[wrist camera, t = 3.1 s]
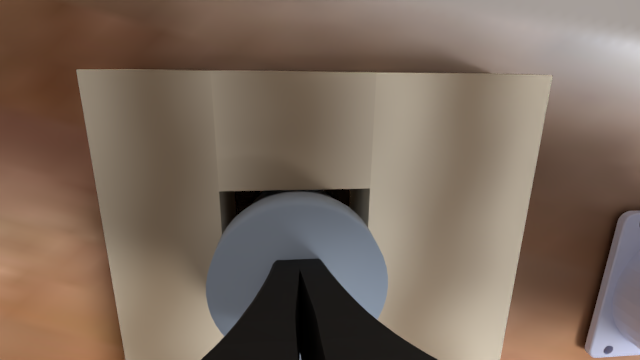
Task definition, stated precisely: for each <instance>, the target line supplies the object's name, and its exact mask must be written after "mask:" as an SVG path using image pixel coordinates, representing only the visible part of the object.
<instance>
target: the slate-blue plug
mask: <svg viewBox="0 0 640 360" xmlns="http://www.w3.org/2000/svg"><path fill="white" fill-rule="evenodd" d="M294 259H320V260H321V261H322V262H323V263H324V264H325V266H326V267H327V268H328V270H329V271H330V272H331V273H332V275H333V276H334V277H335V278H336V279H337V281H338V282H339V283H340V284H341V285H342V286H343V287H344V289H345V290H346V291H347V292H348V293H349V294H350V295H351V296H352V297H353V298H354V299H355V300H356V301H357V302H358V303H359V304H360V305H361V306H362V307H363V308H364V309H365V310H366V311H367V312H368V313H370V314H371V315H372V316H373V317H374V318H376V319H378V318H379V316H380V314H381V311H382V309H383V307H384V304H385V300H386V297H387V290H388V274H387V267H386V264H385V260H384V257H383V255H382V253H381V251H380V248H379V246H378V245H377V243H376V241H375V239H374V237H373V235H372V234H371V232H370V230H369V228H368V227H367V225H366V224H365V222H364V221H363V220H362V219H361V218H360V217H359V216H358V214H357V213H355V212H354V211H353V210H352V209H351V208H349V207H348V206H346V205H345V204H343V203H342V202H340V201H338V200H335V199H333V198H332V197H331V196H330V195H329V194H328V193H327V192H326V191H324V190H323V189H316V190H265V191H263V192H261V193H260V194H259V195H258V196H257V198H256V199H255V200H254V202H253V203H252V205H250V206H249V207H247V208H246V209H244V210H243V211H242V212H241V213H239V214H238V215H237V216H236V217H235V218H234V219H233V220H232V221H231V222H230V224H229V225H228V226H227V228H226V229H225V231H224V232H223V234H222V236H221V238H220V240H219V242H218V245H217V247H216V250H215V253H214V255H213V258H212V261H211V264H210V267H209V270H208V274H207V281H206V298H207V304H208V308H209V311H210V314H211V317H212V319H213V321H214V323H215V325H216V326H217V328H218V329H219V330H220V332H221V333H222V334H223V335H224V336H225V335H226V334H227V333H228V332H229V331H230V330H231V328H232V327H233V326H234V325H235V324H236V322H237V321H238V320H239V319H240V317H241V316H242V315H243V313H244V312H245V311H246V309H247V308H248V307H249V305H250V304H251V303H252V301H253V300H254V298H255V297H256V295H257V293H258V292H259V290H260V289H261V287H262V285H263V284H264V282H265V280H266V278H267V276H268V274H269V272H270V270H271V268H272V264H273V263H274V262H275V261H276V260H294ZM300 360H301V355H300Z"/></svg>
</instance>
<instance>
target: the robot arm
mask: <svg viewBox="0 0 640 360" xmlns="http://www.w3.org/2000/svg"><path fill="white" fill-rule="evenodd" d="M585 351H586V352H587V353H588V354H589V355H590V356H592V357H594V358H600V357H614V356H629V355H640V210H639V211H627V212H625V213H623V214H622V215H621V216H620V217H619V219H618V222H617V226H616V230H615V234H614V237H613V241H612V245H611V249H610V253H609V256H608V260H607V264H606V268H605V272H604V275H603V279H602V283H601V287H600V291H599V294H598V298H597V302H596V306H595V310H594V313H593V317H592V321H591V325H590V329H589V332H588V336H587V340H586V344H585ZM300 355H301V360H438V359H436V358H434V357H432V356H430V355H429V354H427V353H425V352H424V351H422V350H420V349H419V348H417V347H416V346H414V345H412V344H411V343H409V342H407V341H406V340H404V339H403V338H401V337H400V336H398V335H397V334H395V333H394V332H393V331H391V330H390V329H389V328H387V327H386V326H385V325H383V324H382V323H381V322H379V321H378V320H377V319H376V318H374V317H373V316H372V315H371V314H370V313H368V312H367V311H366V310H365V309H364V308H363V307H362V306H361V305H360V304H359V303H358V302H357V301H356V300H355V299H354V298H353V297H352V296H351V295H350V294H349V293H348V292H347V291H346V290H345V289H344V287H343V286H342V285H341V284H340V283H339V282H338V281H337V279H336V278H335V277H334V276H333V275H332V273H331V272H330V271H329V270H328V268H327V267H326V266H325V264H324V263H323V262H322V261H321V260H320V259H294V260H276V261H275V262H274V263H273V264H272V268H271V270H270V272H269V274H268V276H267V278H266V280H265V282H264V284H263V285H262V287H261V289H260V290H259V292H258V293H257V295H256V297H255V298H254V300H253V301H252V303H251V304H250V305H249V307H248V308H247V309H246V311H245V312H244V313H243V315H242V316H241V317H240V319H239V320H238V321H237V322H236V324H235V325H234V326H233V327H232V328H231V330H230V331H229V332H228V333H227V334H226V335H225V336H224V337H223V338H222V339H221V340H220V342H219V343H218V344H217V345H216V346H215V347H214V348H213V349H212V350H210V351H209V352H208V353H207V354H206V355H205V356H204V357H203V358H202V359H201V360H300Z"/></svg>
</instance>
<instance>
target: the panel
mask: <svg viewBox="0 0 640 360" xmlns="http://www.w3.org/2000/svg"><path fill="white" fill-rule="evenodd" d="M76 72H77V78H78V84H79V90H80V95H81V101H82V107H83V113H84V119H85V125H86V131H87V137H88V143H89V148H90V154H91V160H92V166H93V172H94V178H95V184H96V190H97V195H98V201H99V207H100V213H101V219H102V225H103V231H104V237H105V243H106V248H107V254H108V260H109V266H110V272H111V278H112V284H113V290H114V295H115V301H116V307H117V313H118V319H119V325H120V331H121V337H122V342H123V348H124V354H125V360H201V359H202V358H203V357H204V356H205V355H206V354H207V353H208V352H209V351H210V350H212V349H213V348H214V347H215V346H216V345H217V344H218V343H219V342H220V340H221V339H222V338H223V337H224V335H223V334H222V333H221V332H220V330H219V329H218V328H217V326H216V325H215V323H214V321H213V319H212V317H211V314H210V311H209V308H208V304H207V298H206V281H207V274H208V270H209V267H210V264H211V261H212V258H213V255H214V253H215V250H216V247H217V245H218V242H219V240H220V238H221V236H222V234H223V232H224V231H225V229H226V228H227V226H228V225H229V224H230V222H231V221H232V220H233V219H234V218H235V217H236V207H235V191H265V190H316V189H350V202H349V208H351V209H352V210H353V211H354V212H355V213H357V214H358V216H359V217H360V218H361V219H362V220H363V221H364V222H365V224H366V225H367V227H368V228H369V230H370V232H371V234H372V235H373V237H374V239H375V241H376V243H377V245H378V246H379V248H380V251H381V253H382V255H383V257H384V260H385V264H386V267H387V274H388V290H387V297H386V300H385V304H384V307H383V309H382V311H381V314H380V316H379V318H378V319H377V320H378V321H379V322H381V323H382V324H383V325H385V326H386V327H387V328H389V329H390V330H391V331H393V332H394V333H395V334H397V335H398V336H400V337H401V338H403V339H404V340H406V341H407V342H409V343H411V344H412V345H414V346H416V347H417V348H419V349H420V350H422V351H424V352H425V353H427V354H429V355H430V356H432V357H434V358H436V359H438V360H500V357H501V351H502V346H503V341H504V335H505V330H506V324H507V319H508V314H509V308H510V303H511V298H512V292H513V287H514V281H515V276H516V271H517V265H518V260H519V255H520V249H521V244H522V238H523V233H524V228H525V222H526V217H527V211H528V206H529V201H530V195H531V190H532V185H533V179H534V174H535V168H536V163H537V158H538V152H539V147H540V142H541V136H542V131H543V125H544V120H545V115H546V109H547V104H548V99H549V93H550V88H551V82H552V77H553V75H534V74H495V73H414V72H330V71H247V70H163V69H76Z"/></svg>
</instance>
